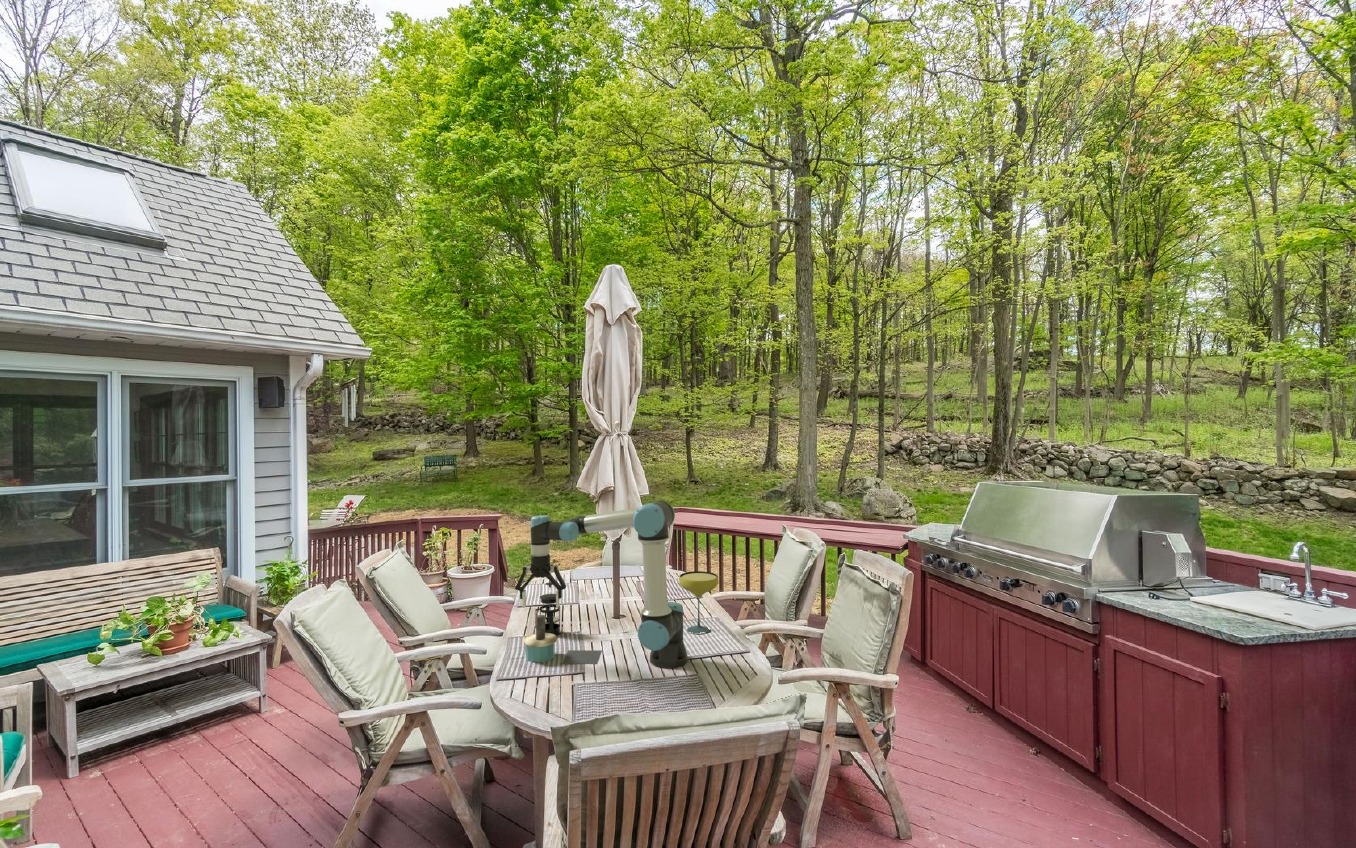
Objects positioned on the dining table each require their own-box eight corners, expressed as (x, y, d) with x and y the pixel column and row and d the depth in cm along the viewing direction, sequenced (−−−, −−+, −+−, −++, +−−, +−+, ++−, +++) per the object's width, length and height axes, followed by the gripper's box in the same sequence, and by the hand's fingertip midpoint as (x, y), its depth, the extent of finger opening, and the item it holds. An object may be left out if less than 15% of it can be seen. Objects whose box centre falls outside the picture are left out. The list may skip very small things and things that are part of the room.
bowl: (556, 653, 241) (556, 636, 241) (550, 664, 230) (550, 646, 230) (530, 653, 241) (530, 636, 241) (523, 664, 230) (523, 646, 230)
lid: (559, 635, 242) (560, 611, 242) (552, 647, 229) (552, 621, 229) (528, 635, 242) (528, 611, 242) (519, 647, 229) (520, 621, 230)
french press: (560, 629, 270) (560, 579, 270) (563, 635, 261) (563, 584, 262) (534, 632, 266) (534, 581, 266) (536, 639, 257) (536, 587, 257)
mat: (601, 652, 243) (601, 650, 243) (597, 665, 229) (597, 664, 229) (568, 651, 243) (568, 650, 243) (561, 665, 229) (561, 664, 229)
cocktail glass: (674, 635, 262) (674, 579, 262) (684, 622, 279) (684, 570, 280) (713, 639, 257) (713, 582, 257) (721, 625, 275) (721, 572, 275)
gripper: (572, 551, 240) (573, 603, 239) (512, 552, 240) (513, 604, 240) (569, 555, 232) (570, 609, 232) (506, 556, 232) (507, 610, 232)
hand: (541, 606), depth 236 cm, fingers open, 13 cm apart
